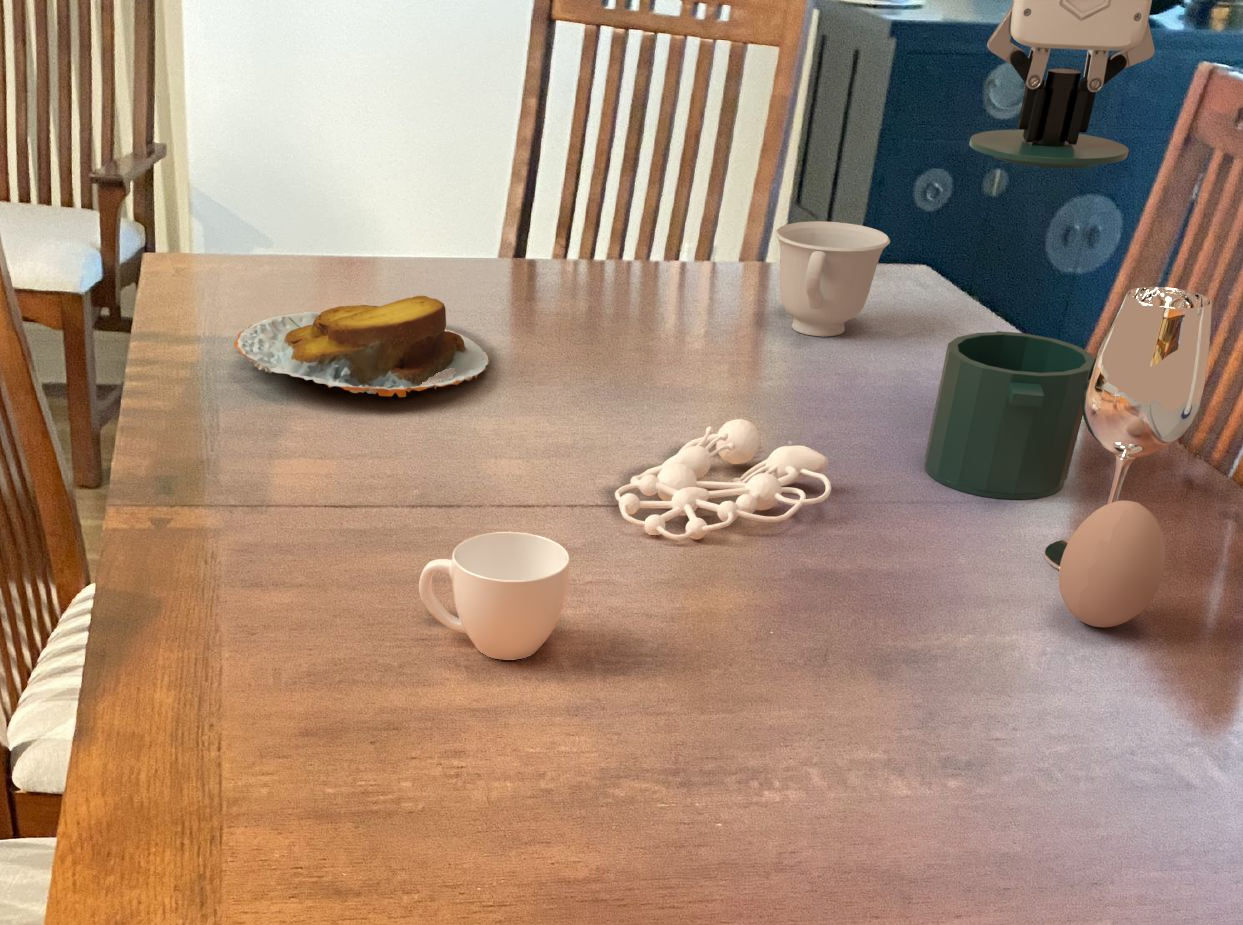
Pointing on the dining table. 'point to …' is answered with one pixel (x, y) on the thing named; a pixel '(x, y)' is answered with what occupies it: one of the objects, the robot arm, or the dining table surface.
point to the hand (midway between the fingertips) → (1049, 138)
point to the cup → (502, 591)
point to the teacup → (826, 273)
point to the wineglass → (1146, 379)
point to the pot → (1007, 414)
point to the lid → (1051, 133)
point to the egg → (1112, 564)
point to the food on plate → (365, 347)
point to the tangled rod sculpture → (755, 488)
